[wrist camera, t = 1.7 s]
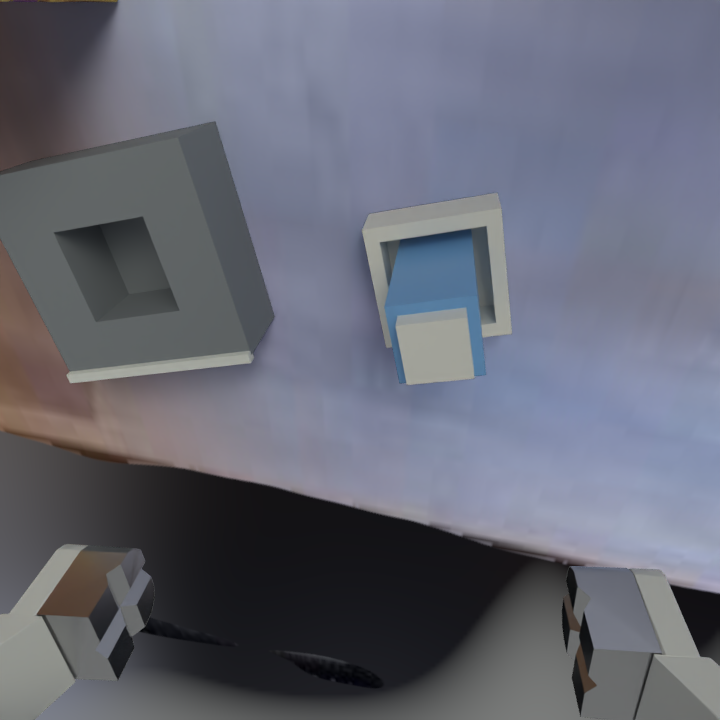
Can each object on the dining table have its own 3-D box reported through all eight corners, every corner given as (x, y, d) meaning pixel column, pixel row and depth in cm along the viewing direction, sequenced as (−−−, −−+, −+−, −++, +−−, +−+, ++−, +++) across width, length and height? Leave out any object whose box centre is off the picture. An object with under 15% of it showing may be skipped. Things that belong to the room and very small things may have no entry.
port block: (215, 121, 31) (174, 138, 27) (275, 320, 37) (251, 363, 33) (30, 161, 34) (-36, 183, 29) (114, 341, 40) (70, 383, 35)
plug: (471, 228, 32) (478, 305, 23) (478, 294, 34) (487, 387, 25) (400, 239, 33) (381, 317, 24) (411, 302, 35) (397, 395, 26)
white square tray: (497, 192, 31) (501, 207, 29) (507, 310, 35) (511, 333, 32) (368, 213, 33) (361, 230, 30) (391, 324, 36) (386, 348, 34)
